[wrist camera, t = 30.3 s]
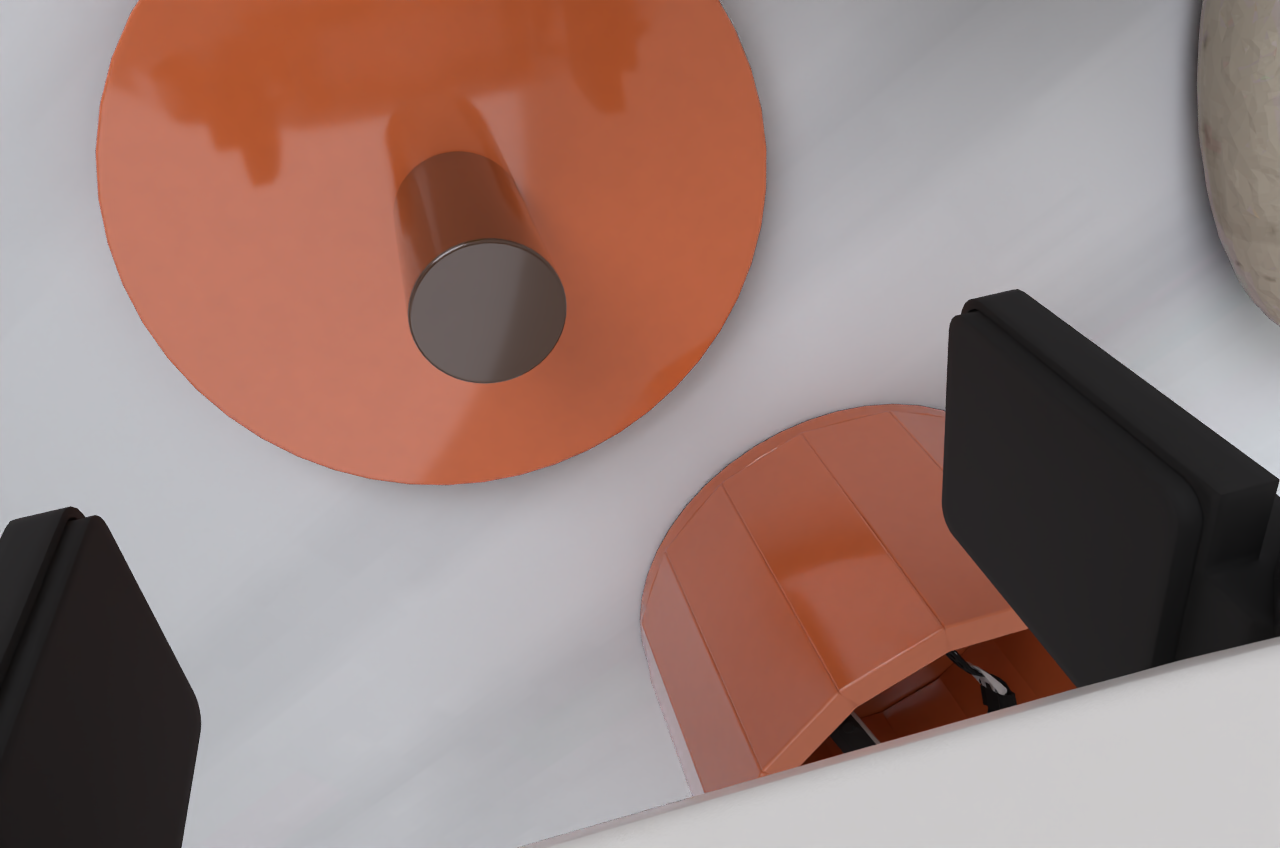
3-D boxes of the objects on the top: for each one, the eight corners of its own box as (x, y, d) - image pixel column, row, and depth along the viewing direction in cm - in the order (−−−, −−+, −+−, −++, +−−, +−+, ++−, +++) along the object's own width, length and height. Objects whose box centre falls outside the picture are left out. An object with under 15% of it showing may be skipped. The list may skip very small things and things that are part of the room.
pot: (664, 776, 31) (748, 1026, 24) (611, 466, 24) (706, 696, 18) (1013, 672, 32) (1175, 882, 26) (1047, 357, 26) (1270, 533, 20)
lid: (240, 516, 23) (216, 702, 18) (-23, -99, 16) (-170, -56, 11) (766, 388, 24) (867, 527, 20) (725, -216, 18) (864, -220, 13)
